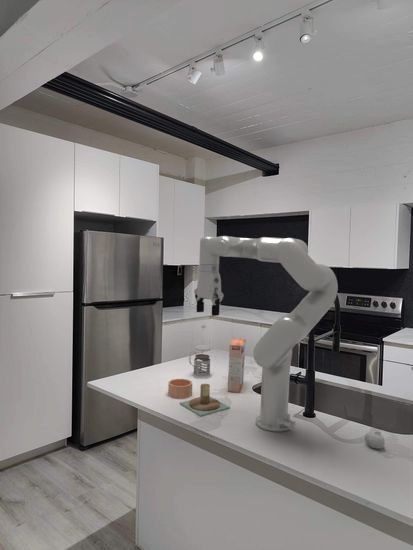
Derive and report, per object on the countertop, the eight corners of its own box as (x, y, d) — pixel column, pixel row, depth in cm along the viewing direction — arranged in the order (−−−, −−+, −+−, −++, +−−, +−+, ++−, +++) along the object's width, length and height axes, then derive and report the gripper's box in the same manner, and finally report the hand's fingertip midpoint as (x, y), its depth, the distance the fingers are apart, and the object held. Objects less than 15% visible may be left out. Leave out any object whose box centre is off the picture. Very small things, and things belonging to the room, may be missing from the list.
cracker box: (240, 393, 165) (242, 345, 164) (227, 392, 166) (228, 344, 165) (244, 383, 179) (246, 338, 178) (231, 381, 180) (233, 337, 179)
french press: (215, 377, 185) (216, 326, 184) (192, 379, 181) (193, 327, 180) (207, 371, 194) (209, 322, 193) (185, 373, 190) (187, 323, 189)
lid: (226, 406, 148) (227, 386, 148) (201, 413, 141) (201, 392, 141) (207, 397, 158) (208, 378, 158) (183, 403, 151) (183, 383, 150)
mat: (229, 408, 148) (229, 406, 148) (200, 416, 140) (200, 415, 140) (208, 397, 159) (208, 395, 159) (179, 404, 151) (179, 402, 151)
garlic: (387, 447, 121) (388, 431, 121) (381, 453, 117) (382, 436, 117) (367, 440, 125) (368, 425, 125) (361, 446, 121) (362, 430, 121)
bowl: (196, 395, 161) (196, 383, 161) (176, 400, 155) (176, 388, 155) (183, 388, 169) (183, 377, 168) (163, 392, 163) (164, 381, 163)
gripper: (231, 270, 142) (229, 316, 143) (203, 268, 156) (202, 310, 157) (215, 270, 138) (213, 317, 139) (188, 268, 152) (186, 311, 152)
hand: (207, 313), depth 148 cm, fingers open, 9 cm apart
